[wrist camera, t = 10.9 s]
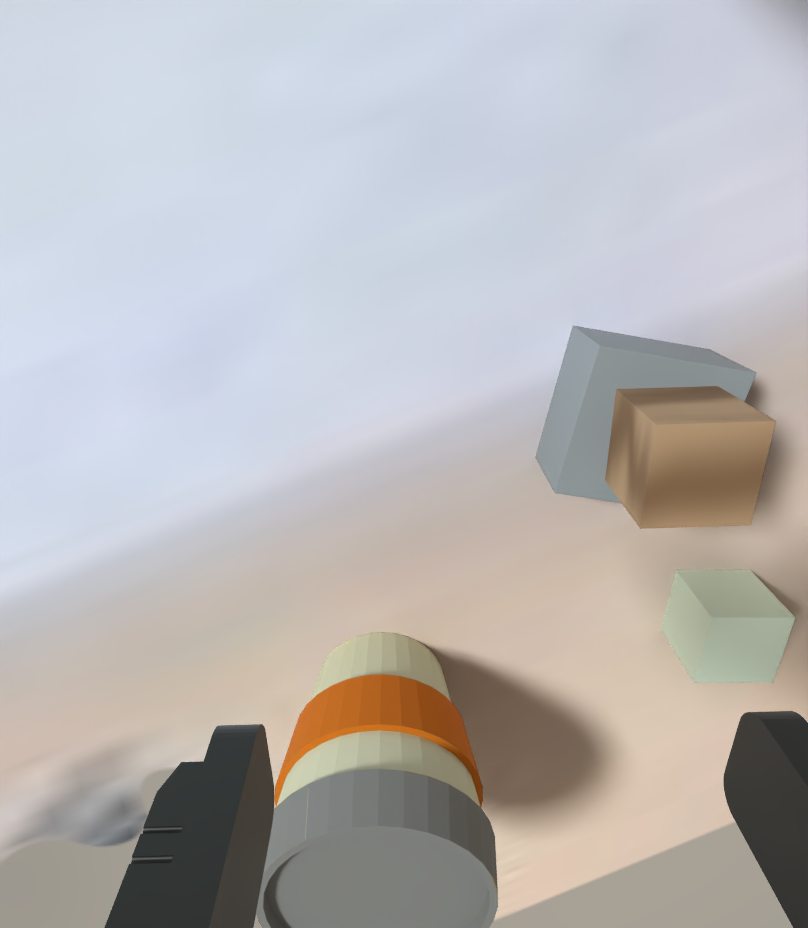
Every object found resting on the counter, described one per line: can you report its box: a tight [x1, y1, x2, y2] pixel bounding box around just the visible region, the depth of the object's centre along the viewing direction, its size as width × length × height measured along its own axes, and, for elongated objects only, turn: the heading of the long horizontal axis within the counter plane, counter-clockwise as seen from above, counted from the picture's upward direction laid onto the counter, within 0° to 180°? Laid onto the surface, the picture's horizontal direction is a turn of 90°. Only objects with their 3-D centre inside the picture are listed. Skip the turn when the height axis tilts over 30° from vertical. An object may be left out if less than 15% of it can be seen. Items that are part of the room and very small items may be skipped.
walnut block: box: [605, 386, 776, 529], centre depth 28 cm, size 5×5×5 cm
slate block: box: [536, 326, 756, 503], centre depth 33 cm, size 8×8×5 cm
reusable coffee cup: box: [256, 632, 498, 928], centre depth 37 cm, size 13×13×15 cm
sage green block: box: [662, 570, 795, 683], centre depth 39 cm, size 5×5×5 cm
